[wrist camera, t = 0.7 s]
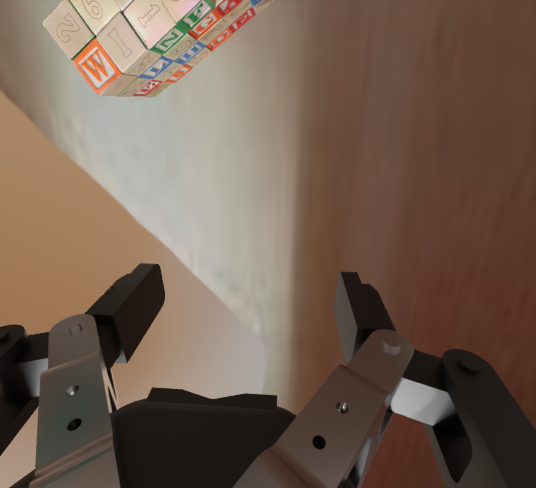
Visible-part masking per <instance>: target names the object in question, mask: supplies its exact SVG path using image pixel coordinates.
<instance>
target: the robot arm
mask: <svg viewBox="0 0 536 488" xmlns="http://www.w3.org/2000/svg"><path fill="white" fill-rule="evenodd" d="M164 300H165V291H164V285H163V280H162V275H161V269H160V266H159V265H158V264H145V263H141V264H139V265H138V266H137V267H136V268H135V269H134V270H133V271H132V272H131V274H126V275H125V276H123V277H121V278H120V279H118V280H117V281H116V282H115V283H114V284H113V285H112V286H111V287H110V289H108V290H107V291H106V292H105V294H104V295H102V296H101V297H100V298H99V299H98V301H96V302H95V303H94V304H93V305H92V306H91V307H90V308H89V310H88V311H87V312H86V313H85V314H79V315H74V316H71V317H68V318H66V319H64V320H62V321H60V322H59V323H57V324H56V325H54V326H53V328H52V329H51V331H50V332H46V333H40V334H34V335H27V333H26V331H25V329H24V327H23V326H21V325H7V326H2V327H0V456H1V454H2V453H3V452H4V450H5V449H6V448H7V447H8V445H9V444H10V442H11V441H12V440H13V439H14V437H15V436H16V435H17V433H18V432H19V431H20V429H21V428H22V427H23V426H24V424H25V423H26V422H27V420H28V419H29V418H30V416H31V415H32V414H33V412H34V411H35V410H36V408H37V407H38V406H39V408H38V428H37V446H36V465H35V469H34V470H33V471H32V472H30V473H29V474H27V475H26V476H25V477H23V478H22V479H21V480H19V481H18V482H16V483H15V484H14V485H12V486H11V487H10V488H360V487H361V484H362V482H363V480H364V478H365V476H366V474H367V471H368V469H369V466H370V464H371V461H372V458H373V456H374V454H375V452H376V450H377V448H378V446H379V444H380V442H381V440H382V438H383V436H384V434H385V432H386V430H387V428H388V426H389V424H390V422H391V419H392V417H393V415H394V413H395V412H396V413H399V414H402V415H404V416H407V417H410V418H413V419H415V420H418V421H421V422H423V424H424V427H425V430H426V433H427V435H428V438H429V441H430V444H431V447H432V449H433V452H434V455H435V458H436V461H437V464H438V466H439V469H440V472H441V475H442V478H443V480H444V483H445V486H446V488H536V430H535V428H534V427H533V426H532V424H531V423H530V421H529V420H528V418H527V417H526V415H525V414H524V412H523V411H522V410H521V408H520V407H519V405H518V404H517V402H516V401H515V399H514V398H513V397H512V395H511V394H510V392H509V391H508V389H507V388H506V386H505V385H504V384H503V382H502V381H501V379H500V378H499V376H498V375H497V373H496V372H495V370H494V369H493V368H492V367H491V365H490V364H489V363H488V362H486V361H485V360H484V359H482V358H481V357H479V356H478V355H476V354H474V353H471V352H469V351H465V350H461V349H451V350H448V351H446V352H445V353H444V355H443V357H442V358H440V357H436V356H433V355H429V354H426V353H423V352H420V351H417V350H415V349H414V348H413V345H412V344H411V342H410V341H409V340H408V339H407V338H406V337H405V336H403V335H402V334H400V333H398V332H396V330H395V328H394V325H393V323H392V321H391V319H390V317H389V315H388V313H387V310H386V308H385V306H384V304H383V302H382V300H381V297H380V295H379V293H378V291H377V290H375V289H374V288H373V287H372V286H371V285H370V284H362V283H361V281H360V278H359V276H358V273H357V272H339V274H338V280H337V287H336V295H335V303H334V310H335V317H336V322H337V327H338V331H339V336H340V341H341V345H342V350H343V355H344V359H345V364H346V367H345V366H344V365H342V364H340V365H338V366H337V367H336V368H335V370H334V371H333V372H332V373H331V375H330V376H329V377H328V378H327V380H326V381H325V382H324V383H323V385H322V386H321V387H320V388H319V389H318V391H317V392H316V393H315V394H314V396H313V397H312V398H311V399H310V401H309V402H308V403H307V404H306V406H305V407H304V408H303V409H302V411H301V412H300V413H299V414H298V416H296V415H295V414H293V413H291V412H290V411H288V410H286V409H284V408H281V407H278V406H277V396H276V395H261V394H240V395H234V396H229V397H223V398H217V399H209V398H206V397H203V396H200V395H197V394H194V393H191V392H188V391H185V390H183V389H168V388H152V389H151V391H150V393H149V395H148V397H147V398H146V399H142V400H139V401H135V402H133V403H130V404H127V405H125V406H124V407H121V408H120V406H119V401H118V397H117V392H116V387H115V382H114V378H113V373H112V370H111V367H112V366H113V364H114V363H128V361H129V359H130V358H131V356H132V355H133V353H134V351H135V350H136V348H137V347H138V345H139V343H140V342H141V340H142V338H143V337H144V335H145V333H146V332H147V330H148V329H149V327H150V326H151V324H152V322H153V321H154V319H155V318H156V316H157V314H158V313H159V311H160V310H161V308H162V306H163V304H164Z"/></svg>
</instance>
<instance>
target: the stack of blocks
mask: <svg viewBox="0 0 536 488" xmlns="http://www.w3.org/2000/svg"><path fill="white" fill-rule="evenodd" d="M274 1H275V0H63V1H62V2H61V3H60V4H59V5H58V6H57V7H56V8H55V9H54V10H53V11H52V12H51V14H50V15H49V16H48V17H47V18H46V19H45V20H44V22H43V25H44V26H45V28H46V29H47V30H48V32H49V33H50V34H51V35H52V37H53V38H54V39H55V41H56V42H57V43H58V45H59V46H60V47H61V49H62V50H63V51H64V53H65V54H66V55H67V57H68V58H69V59H71V60H73V61H72V62H73V64H74V65H75V67H76V68H77V69H78V71H79V72H80V73H81V75H82V76H83V77H84V78H85V80H86V81H87V82H88V84H89V85H90V86H91V87H92V89H93V90H94V91H95V92H96V93H97V95H99V96H122V97H131V96H145V97H156V96H157V95H159V94H160V93H161V92H162V91H164V90H165V89H166V88H167V87H169V86H170V85H171V84H172V83H175V82H176V81H177V80H178V79H180V78H181V77H182V76H183V75H185V74H186V73H187V72H188V71H190V70H191V69H192V68H193V67H195V66H196V65H197V64H198V63H200V62H201V61H202V60H203V59H205V58H206V57H207V56H208V55H209V54H211V53H212V52H213V50H214V49H215V48H216V47H218V46H219V45H220V44H221V43H222V42H224V41H225V40H226V39H227V38H228V37H230V36H231V35H232V34H233V33H234V32H235V31H236V30H237V29H239V28H240V27H241V26H242V25H243V24H245V23H246V22H247V21H248V20H250V19H251V18H252V17H253V16H254V15H255V14H256V15H257V14H259V13H260V12H261V11H262V10H264V9H265V8H266V7H267V6H269V5H270V4H271V3H272V2H274Z"/></svg>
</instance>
